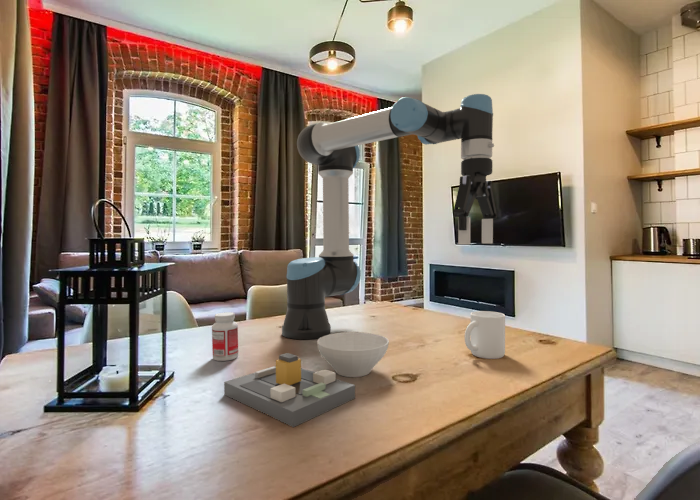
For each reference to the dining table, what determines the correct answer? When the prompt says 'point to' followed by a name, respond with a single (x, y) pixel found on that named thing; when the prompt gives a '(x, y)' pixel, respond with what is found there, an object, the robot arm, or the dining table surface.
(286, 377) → the breaker handle
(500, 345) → the mug
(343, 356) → the bowl
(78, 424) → the dining table surface
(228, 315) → the pill bottle
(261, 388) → the panel
